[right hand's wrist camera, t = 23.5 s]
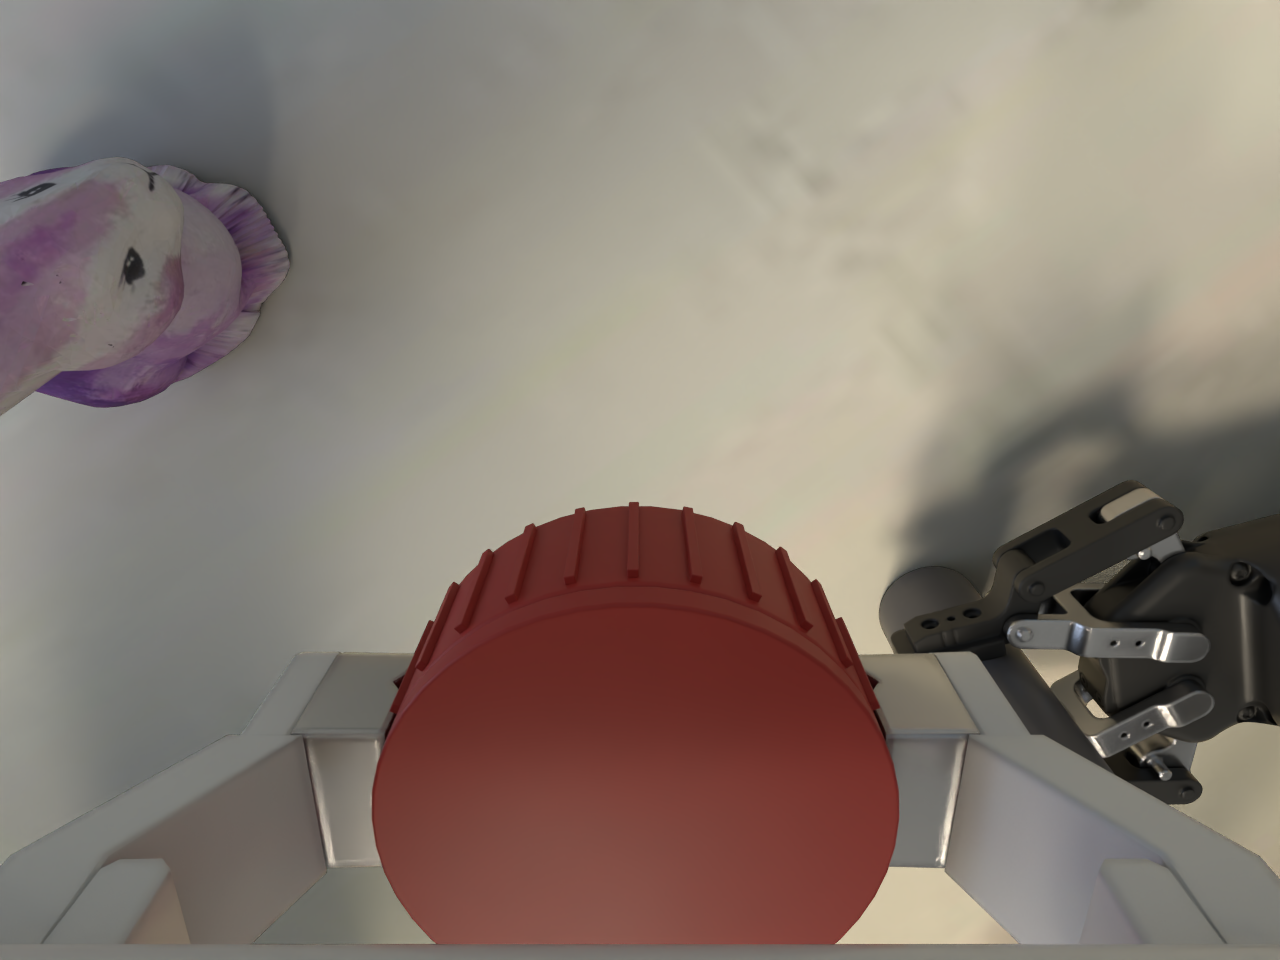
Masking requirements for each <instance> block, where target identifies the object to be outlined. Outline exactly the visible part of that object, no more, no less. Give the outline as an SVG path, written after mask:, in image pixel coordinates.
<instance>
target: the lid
mask: <svg viewBox="0 0 1280 960" xmlns="http://www.w3.org/2000/svg"><path fill="white" fill-rule="evenodd" d="M879 708H880V705H879V702H878V700H877V698H876V695H875V693H874V691H873V688H872V686H871V684H870V681H869V679H868V677H867V674H866V672H865V670H864V667H863V665H862V663H861V660H860V658H859V656H858V653H857V651H856V649H855V646H854V644H853V642H852V639H851V637H850V635H849V632H848V630H847V628H846V625H845V623H844V621H843V619H842V617H840V618H838V619H835V617H834V615H833V613H832V610H831V608H830V605H829V603H828V600H827V598H826V596H825V593H824V591H823V588H822V586H821V584H820V583H819V582H818V580H817V579H815V580H814V581H812V582H810V580H809V579H808V578H807V577H806V576H805V575H804V574H803V573H802V572H801V571H800V570H799V569H798V568H797V567H796V566H795V565H794V564H793V563H792V562H791V561H790V559H789V556H788V553H787V551H786V550H784V549H783V548H782V547H779V548H778V549H777V550H775V549H774V548H772V547H771V546H770V545H768V544H767V543H765V542H764V541H762V540H760V539H758V538H757V537H755V536H753V535H751V534H749V533H747V532H745V530H744V526H743V525H742V524H740V523H737V522H734V524H733V526H732V525H730V524H727V523H724V522H722V521H719V520H717V519H714V518H711V517H707V516H703V515H699V514H695V513H693V508H689V507H683V510H677V509H668V508H660V507H652V506H639V502H629V506H620V507H612V508H604V509H595V510H589V511H585V508H584V507H583V508H578V509H575V514H573V515H569V516H565V517H561V518H558V519H555V520H553V521H550V522H548V523H545V524H542V525H540V526H537V527H535V525H534V524H533V523H532V524H530V525H528V526H526V527H525V530H524V533H523V534H521V535H519V536H517V537H516V538H514V539H512V540H510V541H508V542H507V543H505V544H504V545H503V546H501V547H500V548H498V549H497V550H496V551H494V552H492V551H491V550H490V549H488V550H486V551H485V552H484V553H483V554H482V556H481V559H480V561H479V564H478V565H477V566H476V567H475V568H474V569H473V570H472V571H471V572H470V573H469V574H468V575H467V576H466V577H465V578H464V579H463V581H462V582H461V583H460V585H458V584H457V583H455V582H453V583H452V584H451V586H450V587H449V589H448V591H447V593H446V596H445V598H444V600H443V603H442V605H441V607H440V610H439V612H438V614H437V617H436V619H435V621H434V622H433V621H431V620H429V622H428V624H427V626H426V628H425V631H424V633H423V635H422V637H421V640H420V642H419V644H418V647H417V649H416V651H415V653H414V656H413V658H412V660H411V662H410V665H409V667H408V669H407V671H406V674H405V676H404V678H403V680H402V683H401V685H400V687H399V689H398V692H397V694H396V696H395V699H394V701H393V703H392V705H391V708H390V710H389V711H390V712H392V713H395V714H397V715H396V717H395V719H394V722H393V724H392V726H391V729H390V731H389V733H388V736H387V738H386V741H385V744H384V746H383V749H382V752H381V754H380V757H379V760H378V762H377V767H376V772H375V777H374V783H373V788H372V824H373V830H374V837H375V844H376V848H377V851H378V854H379V857H380V861H381V864H382V867H383V870H384V873H385V875H386V877H387V879H388V881H389V883H390V885H391V887H392V889H393V891H394V892H395V894H396V896H397V898H398V899H399V901H400V902H401V903H402V905H403V906H404V908H405V909H406V911H407V912H408V914H409V915H410V916H411V918H412V919H413V920H414V921H415V922H416V923H417V924H418V926H419V927H420V928H421V929H422V930H423V931H424V932H425V933H426V934H427V935H428V936H429V938H430V939H431V940H433V941H434V942H435V943H436V944H835V943H836V942H838V941H839V940H840V939H841V938H842V937H843V936H844V935H845V934H846V933H847V931H848V930H849V929H850V928H851V927H852V926H853V925H854V924H855V923H856V922H857V921H858V919H859V918H860V917H861V915H862V914H863V913H864V911H865V910H866V908H867V907H868V905H869V904H870V903H871V901H872V900H873V898H874V897H875V895H876V893H877V891H878V889H879V887H880V885H881V883H882V881H883V879H884V877H885V875H886V873H887V870H888V867H889V864H890V861H891V858H892V855H893V852H894V849H895V844H896V838H897V831H898V824H899V789H898V783H897V778H896V773H895V768H894V763H893V760H892V758H891V755H890V752H889V750H888V747H887V744H886V742H885V739H884V736H883V734H882V731H881V729H880V727H879V724H878V722H877V719H876V717H875V715H874V712H873V711H874V710H876V709H879Z"/></svg>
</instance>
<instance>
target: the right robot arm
mask: <svg viewBox="0 0 1280 960" xmlns="http://www.w3.org/2000/svg"><path fill="white" fill-rule="evenodd" d="M413 656H414V654H410V653H361V652H344V653H340V652H302V653H300V654H297V655H295V656H294V657H293V658H292V660H291V661H290V663H289V664H288V666H287V667H286V669H285V670H284V672H283V673H282V675H281V676H280V677H279V679H278V680H277V682H276V683H275V685H274V686H273V688H272V689H271V691H270V692H269V694H268V695H267V697H266V698H265V699H264V701H263V702H262V704H261V705H260V707H259V708H258V710H257V711H256V713H255V714H254V716H253V717H252V718H251V720H250V721H249V723H248V724H247V726H246V727H245V729H244V730H243V732H242V733H241V735H226V736H225V737H223V738H221V739H219V740H217V741H216V742H214V743H212V744H210V745H208V746H207V747H205V748H203V749H201V750H199V751H198V752H196V753H194V754H192V755H190V756H189V757H187V758H185V759H183V760H181V761H179V762H178V763H176V764H174V765H172V766H170V767H169V768H167V769H165V770H163V771H161V772H160V773H158V774H156V775H154V776H152V777H151V778H149V779H147V780H145V781H143V782H142V783H140V784H138V785H136V786H134V787H133V788H131V789H129V790H127V791H125V792H124V793H122V794H120V795H118V796H116V797H115V798H113V799H111V800H109V801H107V802H105V803H104V804H102V805H100V806H98V807H96V808H95V809H93V810H91V811H89V812H87V813H86V814H84V815H82V816H80V817H78V818H77V819H75V820H73V821H71V822H69V823H68V824H66V825H64V826H62V827H60V828H59V829H57V830H55V831H53V832H51V833H50V834H48V835H46V836H44V837H42V838H41V839H39V840H37V841H35V842H33V843H31V844H30V845H28V846H26V847H24V848H22V849H21V850H19V851H17V852H15V853H13V854H12V855H10V856H9V857H8V859H7V860H6V861H5V862H4V863H3V864H2V865H1V866H0V960H1280V879H1279V878H1278V877H1277V875H1276V874H1275V873H1274V872H1273V871H1272V870H1271V869H1270V867H1269V866H1268V865H1267V864H1266V863H1265V862H1264V860H1263V859H1262V858H1261V857H1260V856H1258V855H1257V854H1255V853H1253V852H1251V851H1249V850H1248V849H1246V848H1244V847H1242V846H1241V845H1239V844H1237V843H1235V842H1233V841H1232V840H1230V839H1228V838H1226V837H1225V836H1223V835H1221V834H1219V833H1217V832H1216V831H1214V830H1212V829H1210V828H1208V827H1207V826H1205V825H1203V824H1201V823H1200V822H1198V821H1196V820H1194V819H1192V818H1191V817H1189V816H1187V815H1185V814H1184V813H1182V812H1180V811H1178V810H1176V809H1175V808H1173V807H1171V806H1169V805H1168V804H1166V803H1164V802H1162V801H1160V800H1159V799H1157V798H1155V797H1153V796H1151V795H1150V794H1148V793H1146V792H1144V791H1143V790H1141V789H1139V788H1137V787H1135V786H1134V785H1132V784H1130V783H1128V782H1127V781H1125V780H1123V779H1121V778H1119V777H1118V776H1116V775H1114V774H1112V773H1111V772H1109V771H1107V770H1105V769H1103V768H1102V767H1100V766H1098V765H1096V764H1094V763H1093V762H1091V761H1089V760H1087V759H1086V758H1084V757H1082V756H1080V755H1078V754H1077V753H1075V752H1073V751H1071V750H1070V749H1068V748H1066V747H1064V746H1062V745H1061V744H1059V743H1057V742H1055V741H1054V740H1052V739H1050V738H1048V737H1046V736H1045V735H1030V733H1029V732H1028V730H1027V729H1026V727H1025V726H1024V724H1023V723H1022V721H1021V720H1020V718H1019V717H1018V715H1017V714H1016V712H1015V711H1014V709H1013V708H1012V706H1011V705H1010V703H1009V702H1008V700H1007V699H1006V698H1005V696H1004V695H1003V693H1002V692H1001V690H1000V689H999V687H998V686H997V684H996V683H995V681H994V680H993V678H992V677H991V675H990V674H989V672H988V671H987V669H986V668H985V666H984V665H983V663H982V662H981V661H980V659H979V658H978V656H977V655H976V654H974V653H972V652H970V651H966V652H938V653H920V654H873V655H858V656H859V658H860V660H861V663H862V665H863V667H864V670H865V672H866V674H867V677H868V679H869V681H870V684H871V686H872V688H873V691H874V693H875V695H876V698H877V700H878V702H879V705H880V708H879V709H876V710H874V711H873V712H874V715H875V717H876V719H877V722H878V724H879V727H880V729H881V731H882V734H883V736H884V739H885V742H886V744H887V747H888V750H889V752H890V755H891V758H892V760H893V763H894V768H895V773H896V778H897V783H898V789H899V824H898V831H897V838H896V844H895V849H894V852H893V855H892V858H891V861H890V864H889V867H924V868H945V872H946V873H947V874H948V875H949V876H950V877H951V878H952V879H953V880H954V881H955V882H956V883H957V884H958V885H959V886H960V887H961V888H962V889H963V890H964V891H965V892H966V893H967V894H968V895H969V896H971V897H972V898H973V899H974V900H975V901H976V902H977V903H978V904H979V905H980V906H981V907H982V908H983V909H984V910H985V911H986V912H987V913H988V914H989V915H990V916H991V917H992V918H993V919H994V920H996V921H997V922H998V923H999V924H1000V925H1001V926H1002V927H1003V928H1004V929H1005V930H1006V931H1007V932H1008V933H1009V934H1010V935H1011V936H1012V937H1013V938H1014V939H1015V940H1016V941H1017V942H1018V943H1019V944H252V943H253V942H254V941H255V940H256V939H257V938H258V937H259V936H260V935H261V934H262V933H263V932H264V931H265V930H267V929H268V928H269V927H270V926H271V925H272V924H273V923H274V922H275V921H276V920H277V919H278V918H279V917H280V916H281V915H282V914H283V913H284V912H286V911H287V910H288V909H289V908H290V907H291V906H292V905H293V904H294V903H295V902H296V901H297V900H298V899H299V898H300V897H301V896H302V895H303V894H305V893H306V892H307V891H308V890H309V889H310V888H311V887H312V886H313V885H314V884H315V883H316V882H317V881H318V880H319V879H320V878H321V877H322V876H324V875H325V874H326V873H327V869H326V868H347V867H381V866H382V864H381V861H380V857H379V854H378V851H377V848H376V844H375V837H374V830H373V824H372V788H373V783H374V777H375V772H376V767H377V762H378V760H379V757H380V754H381V752H382V749H383V746H384V744H385V741H386V738H387V736H388V733H389V731H390V729H391V726H392V724H393V722H394V719H395V717H396V715H397V714H395V713H392V712H390V711H389V710H390V708H391V705H392V703H393V701H394V699H395V696H396V694H397V692H398V689H399V687H400V685H401V683H402V680H403V678H404V676H405V674H406V671H407V669H408V667H409V665H410V662H411V660H412V658H413Z"/></svg>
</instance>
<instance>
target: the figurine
mask: <svg viewBox="0 0 1280 960" xmlns="http://www.w3.org/2000/svg"><path fill="white" fill-rule="evenodd" d="M287 256H288V252H287V251H286V250H285V246H284V245H283V244H282V242H281V239H279V238H278V233H276V232H275V231H274V226H272V225H271V224H270V220H269V219H268V218H267V214H266V213H265V212H264V211H263V207H262V206H261V205H260V204H259V203H258V202H257V201H256V199H255V198H254V197H252V196H251V195H250V194H249V192H248V191H246V190H244V189H242V188H240V187H237V186H235V185H231V184H222V183H204V182H202V181H200V180H198V179H197V178H196V177H195V175H193V174H192V173H190V172H188V171H186V170H184V169H181V168H177V167H174V166H170V165H158V166H152V167H144V166H143V165H141V164H139V163H137V162H136V161H134V160H131V159H127V158H123V157H113V158H104V159H98V160H93V161H90V162H88V163H85V164H82V165H79V166H76V167H65V168H56V169H49V170H44V171H39V172H36V173H33V174H31V175H29V176H24V177H18V178H14V179H11V180H7V181H4V182H1V183H0V416H1V415H2V414H4V413H5V412H7V411H8V410H9V409H11V408H12V407H14V406H15V405H16V404H18V403H19V402H20V401H22V400H23V399H25V398H26V397H27V396H29V395H30V394H32V393H33V392H34V391H37V392H40V393H44V394H47V395H51V396H54V397H58V398H61V399H65V400H68V401H72V402H76V403H79V404H84V405H88V406H92V407H102V408H106V407H118V406H124V405H128V404H133V403H137V402H141V401H143V400H146V399H148V398H151V397H153V396H155V395H157V394H159V393H160V392H162V391H164V390H165V389H166V388H167V387H169V386H170V385H171V384H172V383H174V382H177V381H180V380H183V379H186V378H188V377H190V376H192V375H194V374H196V373H197V372H199V371H201V370H202V369H204V368H206V367H208V366H209V365H211V364H212V363H214V362H216V361H217V360H219V359H221V358H222V357H224V356H225V355H227V354H228V353H229V352H230V351H232V350H233V349H235V348H236V347H237V346H238V345H239V344H240V343H242V342H243V341H244V340H245V339H246V338H247V337H248V336H249V335H250V333H251V331H252V329H253V327H254V325H255V323H256V321H257V319H258V317H259V315H260V312H259V310H260V308H261V303H262V302H264V301H266V299H267V297H268V296H269V295H271V293H272V292H273V291H274V290H275V289H277V288H278V287H279V285H280V284H281V283H282V282H283V280H284V279H285V277H286V275H287V272H288V270H289V266H290V263H289V260H288V258H287Z"/></svg>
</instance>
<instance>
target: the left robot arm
mask: <svg viewBox="0 0 1280 960" xmlns="http://www.w3.org/2000/svg"><path fill="white" fill-rule="evenodd" d="M1183 521H1184V517H1183V514H1182V512H1181V511H1180V510H1179V509H1178V508H1177V507H1175V506H1174V505H1172V504H1171V503H1169V502H1168V501H1166V500H1165V499H1163V498H1162V497H1160V496H1159V495H1157V494H1156V493H1154V492H1153V491H1151V490H1150V489H1148V488H1147V487H1145V486H1144V485H1142V484H1141V483H1139V482H1138V481H1134V480H1129V481H1125V482H1122V483H1120V484H1119V485H1117V486H1115V487H1113V488H1111V489H1109V490H1107V491H1105V492H1103V493H1101V494H1100V495H1098V496H1096V497H1094V498H1092V499H1090V500H1088V501H1086V502H1084V503H1082V504H1080V505H1079V506H1077V507H1075V508H1073V509H1071V510H1069V511H1067V512H1065V513H1063V514H1061V515H1060V516H1058V517H1056V518H1054V519H1052V520H1050V521H1048V522H1046V523H1044V524H1042V525H1040V526H1039V527H1037V528H1035V529H1033V530H1031V531H1029V532H1027V533H1025V534H1023V535H1021V536H1020V537H1018V538H1016V539H1014V540H1012V541H1010V542H1008V543H1006V544H1004V545H1002V546H1001V547H999V548H998V549H997V550H996V551H995V553H994V555H993V564H994V566H995V567H996V569H997V570H996V574H995V578H994V583H993V586H992V589H991V590H990V591H989V592H988V593H987V594H986V595H985V596H984V598H982V599H980V600H978V601H974V602H970V603H966V604H962V605H959V606H955V607H951V608H947V609H943V610H942V611H935V612H931V613H927V614H923V615H919V616H916V617H914V618H912V619H911V620H909V621H907V622H906V623H904V624H903V625H904V629H902V630H898V631H896V632H894V633H893V634H892V635H891V643H892V647H893V652H894V654H920V653H938V652H966V651H970V652H972V653H974V654H976V655H977V656H978V658H979V659H980V661H986V660H990V659H994V658H998V657H1002V656H1006V655H1007V654H1006V648H1005V644H1009V643H1010V644H1011V645H1012V646H1013V647H1015V648H1019V649H1064V650H1068V651H1070V652H1072V653H1074V654H1076V655H1079V656H1080V660H1079V665H1078V670H1077V671H1075V672H1073V673H1071V674H1069V675H1067V676H1065V677H1063V678H1061V679H1059V680H1058V681H1056V682H1054V683H1053V684H1052V686H1051V687H1050V689H1051V690H1052V692H1053V693H1054V694H1055V696H1056V697H1057V698H1058V700H1059V701H1060V702H1061V704H1062V705H1063V706H1064V708H1065V709H1066V710H1067V712H1068V713H1069V714H1070V716H1071V717H1072V718H1073V720H1074V721H1075V722H1076V724H1077V725H1078V726H1079V728H1080V729H1081V730H1082V732H1083V733H1084V734H1085V736H1086V737H1087V738H1088V739H1089V741H1090V742H1091V743H1092V745H1093V746H1094V747H1095V749H1096V750H1097V751H1098V753H1099V754H1100V755H1101V757H1102V758H1103V759H1104V761H1105V762H1106V763H1107V765H1108V766H1109V767H1110V769H1111V770H1112V771H1113V773H1114V774H1115V775H1116V776H1118V777H1119V778H1121V779H1123V780H1125V781H1127V782H1128V783H1130V784H1132V785H1134V786H1135V787H1137V788H1139V789H1141V790H1143V791H1144V792H1146V793H1148V794H1150V795H1151V796H1153V797H1155V798H1157V799H1159V800H1160V801H1162V802H1164V803H1166V804H1188V803H1191V802H1194V801H1195V800H1197V799H1198V798H1199V797H1200V795H1201V793H1202V785H1201V784H1200V783H1199V782H1198V781H1197V779H1196V778H1195V777H1194V776H1193V775H1192V774H1191V772H1190V768H1191V764H1192V761H1193V757H1194V754H1195V750H1196V746H1197V743H1198V742H1203V741H1206V740H1209V739H1211V738H1213V737H1215V736H1216V735H1217V734H1219V733H1220V732H1222V731H1223V730H1225V729H1227V728H1229V727H1231V726H1233V725H1235V724H1238V723H1241V722H1256V723H1264V724H1270V725H1276V726H1280V514H1276V515H1272V516H1268V517H1264V518H1260V519H1256V520H1253V521H1249V522H1245V523H1241V524H1237V525H1233V526H1229V527H1225V528H1222V529H1218V530H1214V531H1210V532H1207V533H1204V534H1202V535H1200V536H1199V537H1197V538H1196V539H1195V540H1194V541H1193V542H1189V541H1183V540H1180V538H1179V536H1178V534H1177V532H1178V531H1179V529H1180V528H1181V526H1182V524H1183ZM1125 559H1128V560H1132V561H1131V562H1129V563H1128V564H1127V565H1126V566H1125V567H1124V568H1123V569H1122V570H1121V571H1120V572H1119V573H1118V574H1116V575H1115V576H1114V577H1113V578H1112V579H1111V580H1110V581H1109V582H1108V583H1079V582H1081V581H1083V580H1085V579H1087V578H1089V577H1091V576H1093V575H1095V574H1097V573H1099V572H1101V571H1103V570H1105V569H1107V568H1109V567H1111V566H1113V565H1115V564H1117V563H1119V562H1121V561H1123V560H1125ZM1092 699H1094V700H1095V702H1096V703H1097V704H1098V705H1099V706H1100V708H1101V709H1102V710H1103V711H1104V712H1105V714H1107V715H1108V716H1109V717H1108V718H1097V717H1095V716H1094V715H1093V714H1092V713H1091V712H1090V711H1089V709H1088V708H1087V707H1086V705H1087V703H1088V702H1089V701H1090V700H1092Z"/></svg>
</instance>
